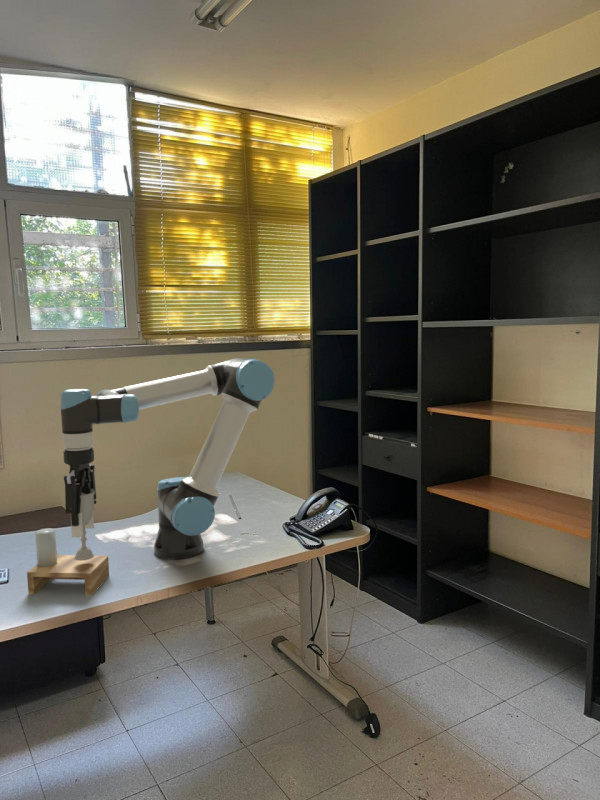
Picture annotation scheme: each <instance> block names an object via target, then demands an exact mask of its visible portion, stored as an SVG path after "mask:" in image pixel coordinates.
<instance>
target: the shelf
mask: <svg viewBox="0 0 600 800" xmlns="http://www.w3.org/2000/svg"><path fill="white" fill-rule="evenodd" d="M75 556H76V554H70V555H69V554H66V555H65V554H57V563H56V564H55V565H53V566H49V567H39V566H38V565H37V564H36V565H34V566H33V567H32V568H30V569H29V570H28V571H27V572H26V577H27V578H26V579H27V591H28V595H35V594H37V592H39V591H40V590H41V589H42V588H44V587H45V586H46V585H47V584H49V582H51V580H75V581H76V580H80V581H82V580H83V581H84V590H85V591H84V592H85V594H84V595H85V596H92V595H93V594H94V593H95V592H96V591H97V590H98V589H99V588H100V587H101V586H102V585H103V584H104V583H105V581H107V579H109V577H110V566H109V555H94V557H93V558H91V559H88V560H82V561H80V560H75V559H74V558H75ZM102 583H103V584H102ZM101 584H102V585H101ZM100 585H101V586H100ZM98 587H99V588H98ZM97 588H98V589H97Z"/></svg>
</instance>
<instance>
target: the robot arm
mask: <svg viewBox="0 0 600 800" xmlns="http://www.w3.org/2000/svg"><path fill="white" fill-rule="evenodd" d="M275 382H276V378H275V374H274V372H273V369H272V368H271V366H270V365H268V363H266V362H264V361H263V360H260V359H257V358H253V357H251V358H248V357H246V358H245V357H235V358H232V359H228V360H224V361H221V362H218V363H214V364H210V365H207V366H206V367H205V368H204V369H202V370H198V371H193V372H188V373H184V374H179V375H175V376H171V377H170V376H169V377H165V378H161V379H156V380H151V381H147V382H142V383H137V384H133V385H132V384H131V385H128V386H127V385H126V386H124V387H119V388H114V389H108V388H107V389H102V390H100V391H99V392H98V393H96V395H93V394H92V393H91V392H92V391H91V390H90V389H87V388H71V389H65V390H63V391H62V392H61V393H60V419H61V420H60V421H61V430H62V431H61V432H62V435H61V439H62V446H63V448H64V450H63V451H62V452H63V463H64V464H66V465H68V466H69V471H68V475H63V482H64V493H65V494H64V496H65V497H64V498H65V500H64V501H65V514H67V515H68V514H69V515H70V529H71V538H81V537H83V525H82V513H80V505H81V498H80V496H81V493H85V494H89V493H90V490H91V489H94V490H95V493H94V505H96V504H97V491H96V490H97V489H96V478H95V469H96V468H95V467H96V466H95V464H92V463H93V462H94V461H95V449H94V447H93V446H94V445H95V444H94V431H93V429H94V428H93V425H100V424H101V425H103V424H117V423H118V424H121V423H124V424H126V423H129V422H136V421H137V420H138V419H139V413H140V410H145V409H148V408H149V409H150V408H153V407H158V406H161V405H166V404H171V403H175V402H179V401H184V400H188V399H193V398H196V397H197V398H198V397H202V396H206V395H209V394H211V396H213V397H215V396H220V395H221V397H222V399H223V401H222V404H221V406H220V409H219V410H218V413H217V415H216V417H215V419H214V422H213V423H212V426H211V428H210V430H209V433H208V434H207V436H206V438H205V441H204V443H203V446H202V448H201V450H200V452H199V454H198V457H197V459H196V461H195V463H194V465H193V467H192V469H191V472H190V473H189V475H188V476H179V477H178V476H177V477H169V478H164V479H161V480H160V481H158V483H157V490H156V493H157V509H158V514H157V515H158V531H157V535H156V536H155V537H156V538H155V541H154V545H153V552H154V553H153V554H154V555H155V556H156V557H158V558H161V559H163V560H164V559H165V560H182V559H183V560H184V559H187V558H191V557H194V556H198V555H199V554H201V553H202V552H203V551H204V549H205V547H204V539H203V536H202V534H203V533H205V532H206V531H208V529H209V528H210V527H211V526H212V525H213V523H214V520H215V517H216V516H215V515H216V513H215V512H216V511H215V504H216V502H217V500H218V498H219V492H218V490H217V489H218V488H217V487H218V486H219V485H218V484H219V483H220V481H221V478H222V476H223V473H224V472H225V469H226V467H227V465H228V463H229V460H230V458H231V456H232V455H233V451H234V449H235V447H236V446H237V443H238V441H239V439H240V436H241V434H242V432H243V429H244V428H245V426H246V423H247V421H248V419H249V417H250V414H251V413H253V412H256V411H258V410H259V407H260V405H261V402H262V400H264V399H266V398H268V397H269V396H270V395H271V394H272V392H273V390H274V388H275ZM94 523H95V521H94V513H93V514H92V517H91V519H90V521H89V524H88V525H86V526H85V530H86V529H91V530H92V529H94V528H95V525H94Z"/></svg>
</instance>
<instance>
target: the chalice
mask: <svg viewBox="0 0 600 800" xmlns="http://www.w3.org/2000/svg"><path fill="white" fill-rule="evenodd" d="M94 493H95V490H94V489H91V490H90V493H89V494H85V493H81V496H80V498H81V505H80V513H82V525H83V537H80V539H79V541H80V543H81V546H80V548H77V550H76V553H75V555H76V556H75V558H74V559H75V560H80V561H82V560H88V559H91V558H93V557H94V556H95V554H94V553H93V551H92V548H90V547H89V546H87V545H86V543H87V540H88V538H87V537H86V534H87V531H86V529H85V526H86V525H88V524H89V521H90V519H91V517H92V514H93V515H94V510H95V504H94Z"/></svg>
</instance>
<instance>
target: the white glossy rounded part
mask: <svg viewBox="0 0 600 800" xmlns="http://www.w3.org/2000/svg"><path fill="white" fill-rule="evenodd" d="M34 535H35V546H36V547H35V548H36V549H35V551H36V563H37V564H36V565H38V566H39V567H49V566H53V565H55V564H56V563H57V555H58V551H57V550H58V549H57V536H56V535H57V534H56V529H55V528H50V527H49V528H41V529H38V530H36V531H35V532H34Z"/></svg>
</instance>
